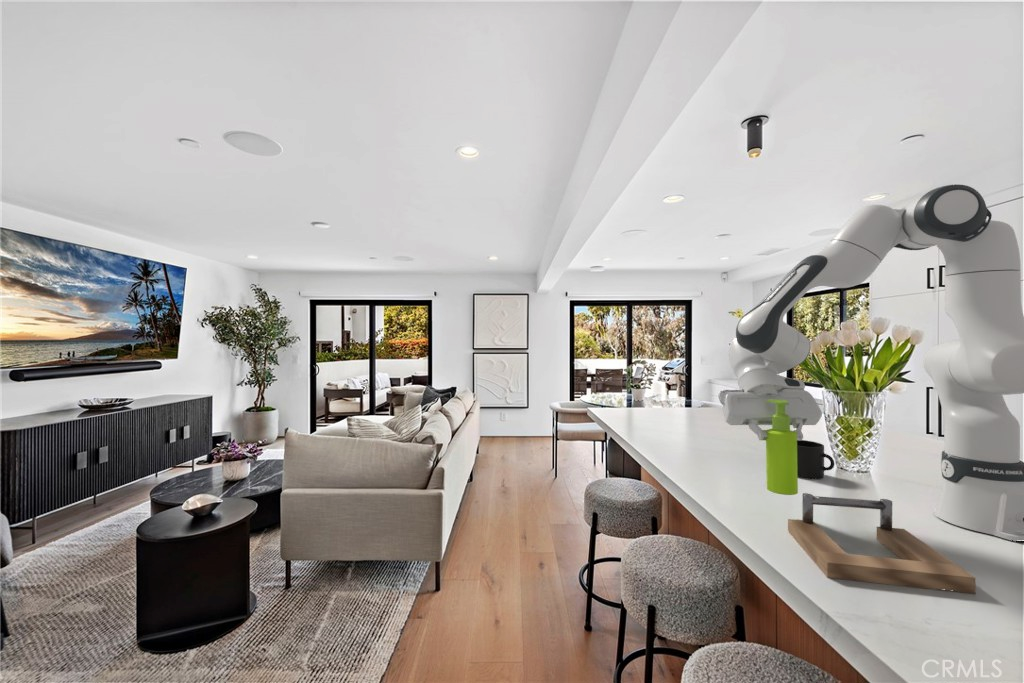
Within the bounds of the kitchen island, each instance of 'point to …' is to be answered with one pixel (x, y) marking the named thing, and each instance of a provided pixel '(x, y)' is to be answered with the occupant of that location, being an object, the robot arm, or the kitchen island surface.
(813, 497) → the steel rail
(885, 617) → the kitchen island surface
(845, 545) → the kitchen island surface
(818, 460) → the mug
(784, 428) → the soap dispenser
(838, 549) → the walnut board
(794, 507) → the kitchen island surface
